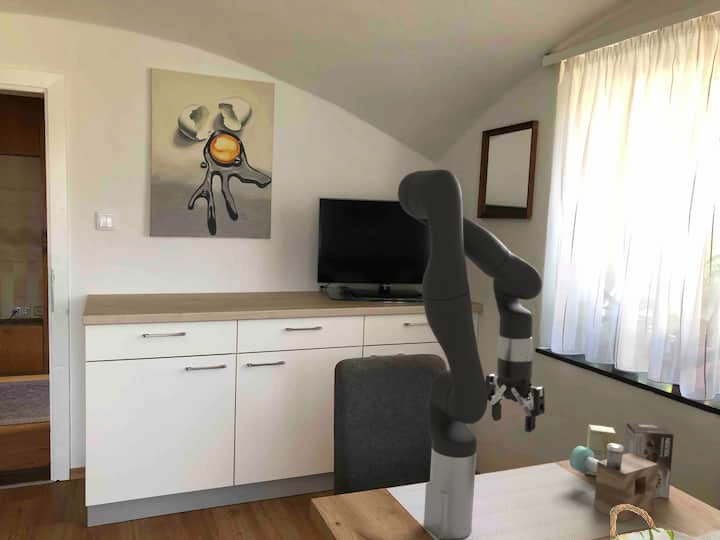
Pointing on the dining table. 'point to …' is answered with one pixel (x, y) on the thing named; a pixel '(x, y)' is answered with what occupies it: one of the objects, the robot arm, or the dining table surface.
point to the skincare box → (599, 442)
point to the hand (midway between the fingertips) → (512, 425)
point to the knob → (583, 460)
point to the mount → (626, 485)
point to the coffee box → (652, 450)
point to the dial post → (614, 456)
